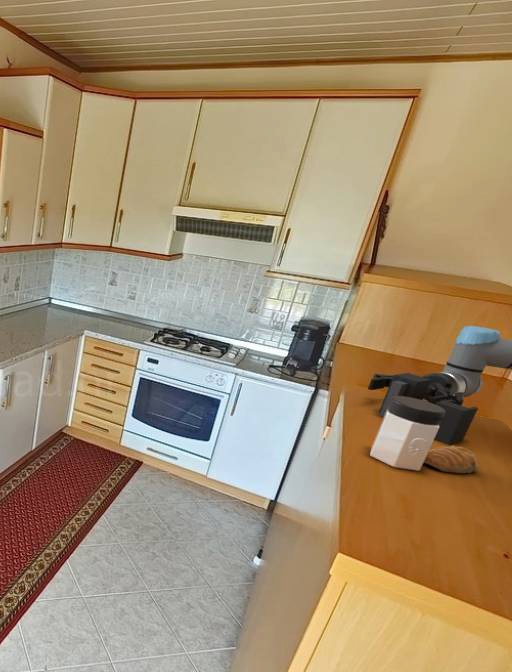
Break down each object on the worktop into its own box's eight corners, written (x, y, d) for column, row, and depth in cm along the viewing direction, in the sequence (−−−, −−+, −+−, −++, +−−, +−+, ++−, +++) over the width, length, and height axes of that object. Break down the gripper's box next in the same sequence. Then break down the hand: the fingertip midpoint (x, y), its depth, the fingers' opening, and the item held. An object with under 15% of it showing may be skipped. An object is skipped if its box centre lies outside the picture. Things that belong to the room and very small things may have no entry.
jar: (381, 466, 92) (406, 408, 88) (358, 446, 100) (380, 392, 96) (432, 474, 91) (460, 415, 87) (405, 454, 99) (429, 399, 95)
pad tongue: (392, 409, 126) (407, 372, 122) (415, 417, 122) (431, 379, 118) (372, 413, 121) (387, 375, 118) (395, 421, 117) (411, 382, 113)
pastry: (447, 477, 91) (456, 459, 90) (409, 459, 97) (416, 442, 96) (478, 473, 94) (487, 455, 93) (439, 456, 100) (447, 439, 99)
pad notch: (436, 430, 114) (450, 399, 111) (462, 440, 110) (478, 407, 107) (422, 434, 111) (436, 402, 108) (448, 444, 106) (464, 411, 104)
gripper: (492, 418, 120) (452, 428, 110) (384, 384, 139) (342, 390, 129) (506, 389, 117) (466, 397, 107) (394, 359, 137) (352, 363, 127)
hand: (398, 393), depth 118 cm, fingers open, 12 cm apart
